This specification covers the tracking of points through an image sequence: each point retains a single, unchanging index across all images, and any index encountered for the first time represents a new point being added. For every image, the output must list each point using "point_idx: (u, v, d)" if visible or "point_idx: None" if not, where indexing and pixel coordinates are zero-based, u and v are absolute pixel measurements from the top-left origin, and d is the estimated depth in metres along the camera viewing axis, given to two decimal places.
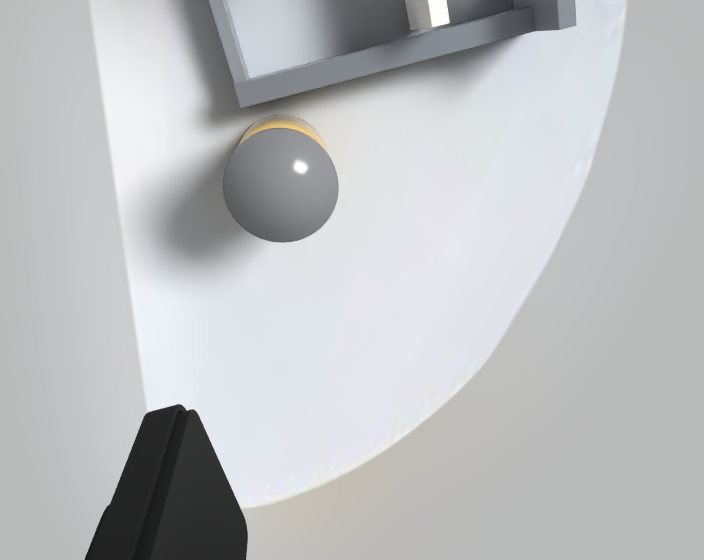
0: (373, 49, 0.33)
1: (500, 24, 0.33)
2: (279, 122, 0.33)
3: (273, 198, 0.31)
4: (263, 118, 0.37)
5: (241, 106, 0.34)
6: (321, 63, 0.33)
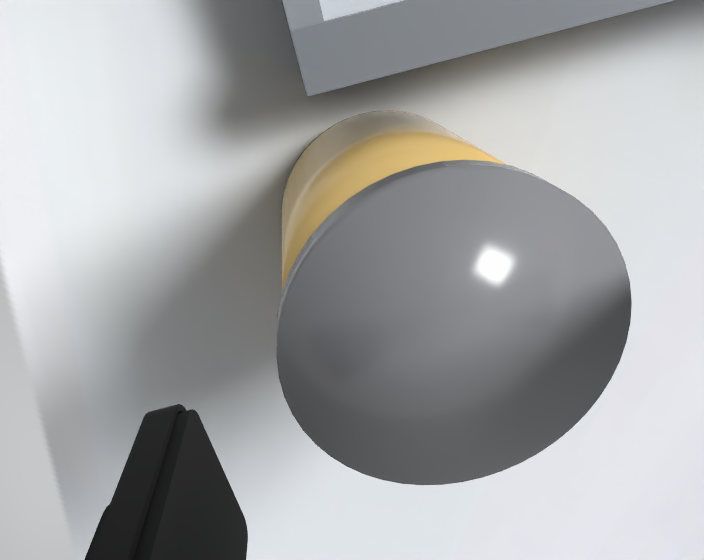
0: None
1: None
2: (418, 135, 0.12)
3: (430, 377, 0.10)
4: (348, 121, 0.15)
5: (310, 91, 0.12)
6: None
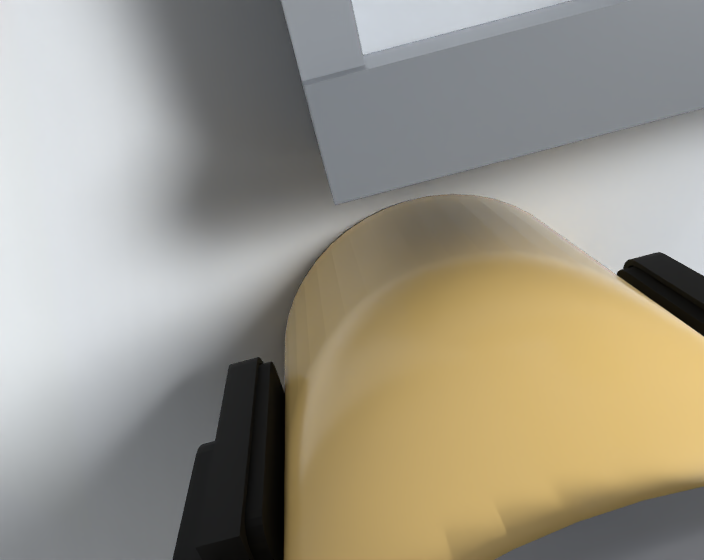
0: None
1: None
2: (547, 291, 0.06)
3: None
4: (389, 215, 0.10)
5: (339, 196, 0.06)
6: None
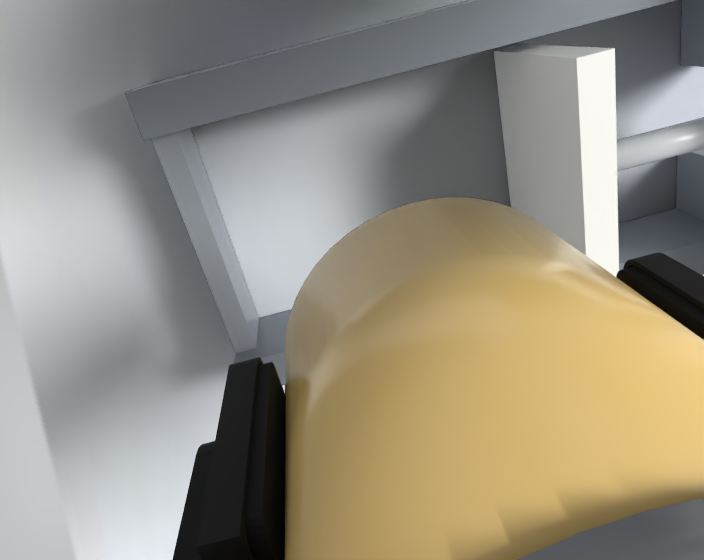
0: None
1: None
2: (549, 295, 0.06)
3: None
4: (390, 218, 0.09)
5: None
6: None
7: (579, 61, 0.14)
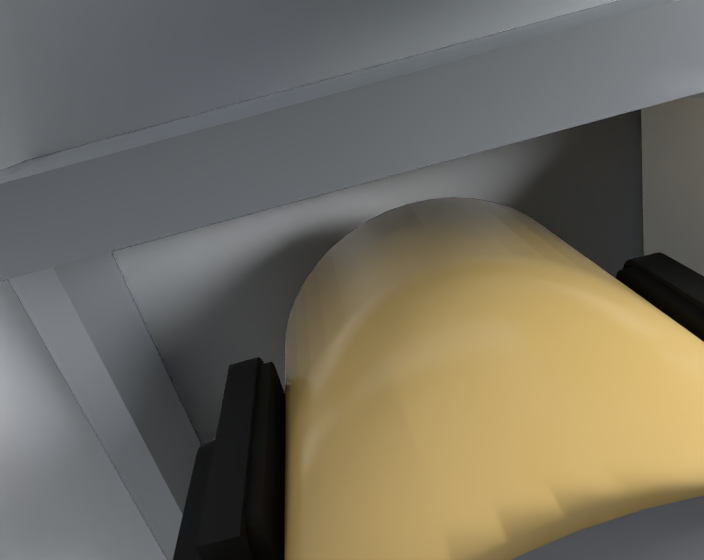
0: None
1: None
2: (548, 296, 0.06)
3: None
4: (389, 219, 0.10)
5: None
6: None
7: None
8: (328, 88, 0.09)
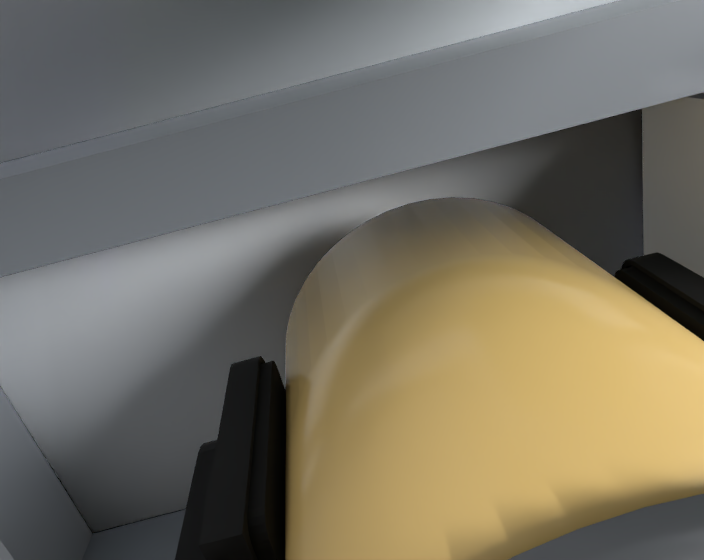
0: None
1: None
2: (548, 295, 0.06)
3: None
4: (390, 218, 0.10)
5: None
6: None
7: None
8: (106, 144, 0.09)
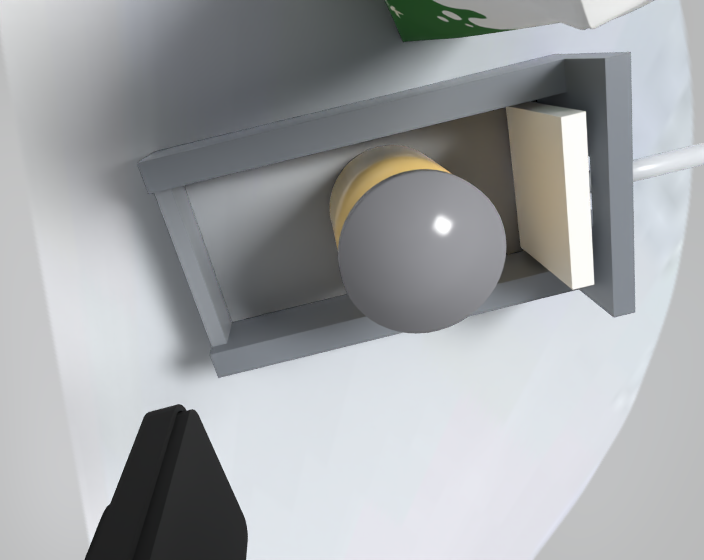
0: None
1: (536, 283, 0.27)
2: (407, 158, 0.23)
3: (410, 272, 0.21)
4: (369, 151, 0.27)
5: (219, 376, 0.27)
6: (317, 329, 0.27)
7: (562, 119, 0.21)
8: (276, 126, 0.24)
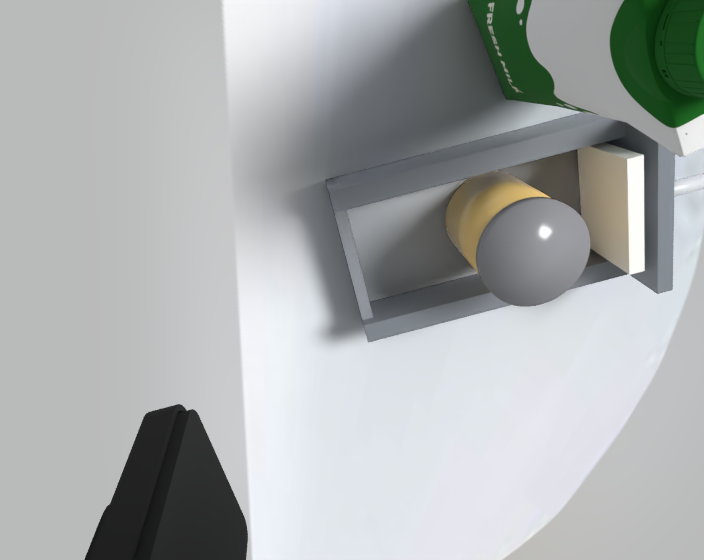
0: (487, 293, 0.37)
1: (598, 270, 0.38)
2: (516, 185, 0.33)
3: (526, 265, 0.31)
4: (478, 176, 0.37)
5: (369, 341, 0.38)
6: (441, 306, 0.37)
7: (628, 160, 0.31)
8: (420, 163, 0.34)
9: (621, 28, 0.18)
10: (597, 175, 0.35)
